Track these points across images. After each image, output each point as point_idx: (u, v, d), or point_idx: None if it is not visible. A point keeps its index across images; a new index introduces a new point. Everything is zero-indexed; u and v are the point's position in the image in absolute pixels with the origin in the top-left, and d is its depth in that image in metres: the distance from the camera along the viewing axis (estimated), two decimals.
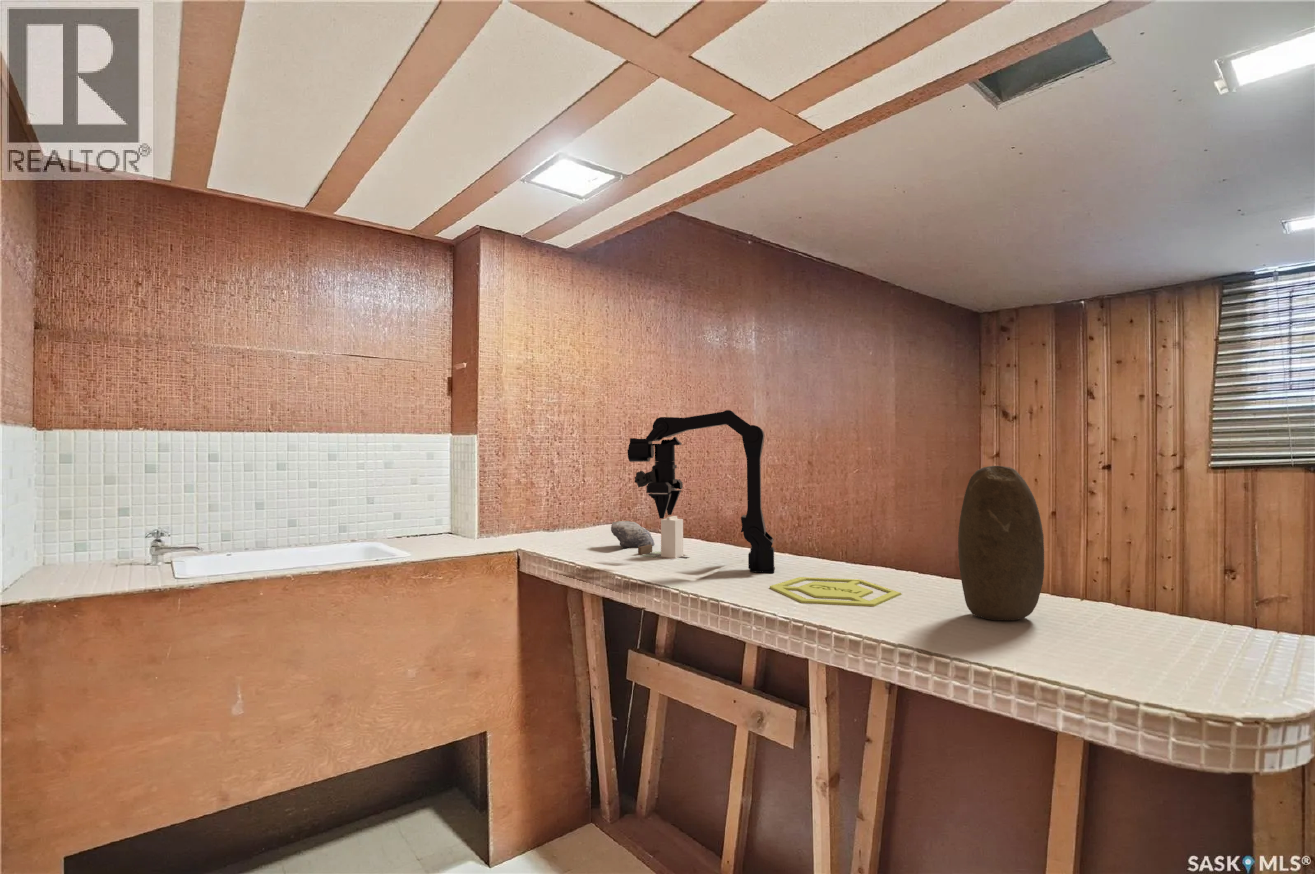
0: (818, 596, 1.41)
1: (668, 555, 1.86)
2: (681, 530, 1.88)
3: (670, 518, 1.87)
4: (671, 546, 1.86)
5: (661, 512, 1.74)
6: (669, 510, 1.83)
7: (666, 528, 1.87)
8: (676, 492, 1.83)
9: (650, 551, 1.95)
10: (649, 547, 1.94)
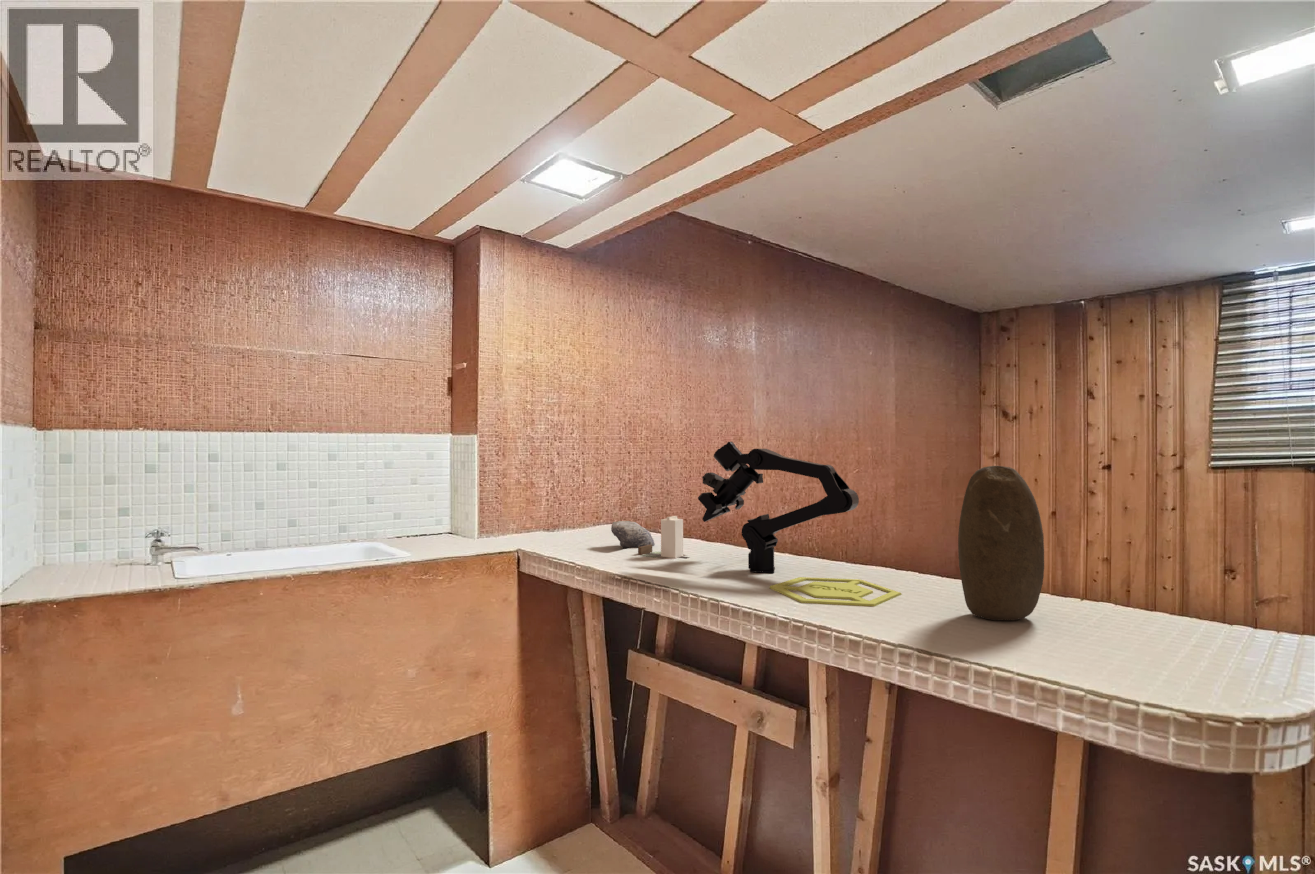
0: (818, 596, 1.41)
1: (668, 555, 1.86)
2: (681, 530, 1.88)
3: (670, 518, 1.87)
4: (671, 546, 1.86)
5: (706, 517, 1.81)
6: None
7: (666, 528, 1.87)
8: (723, 510, 1.80)
9: (650, 551, 1.95)
10: (649, 547, 1.94)
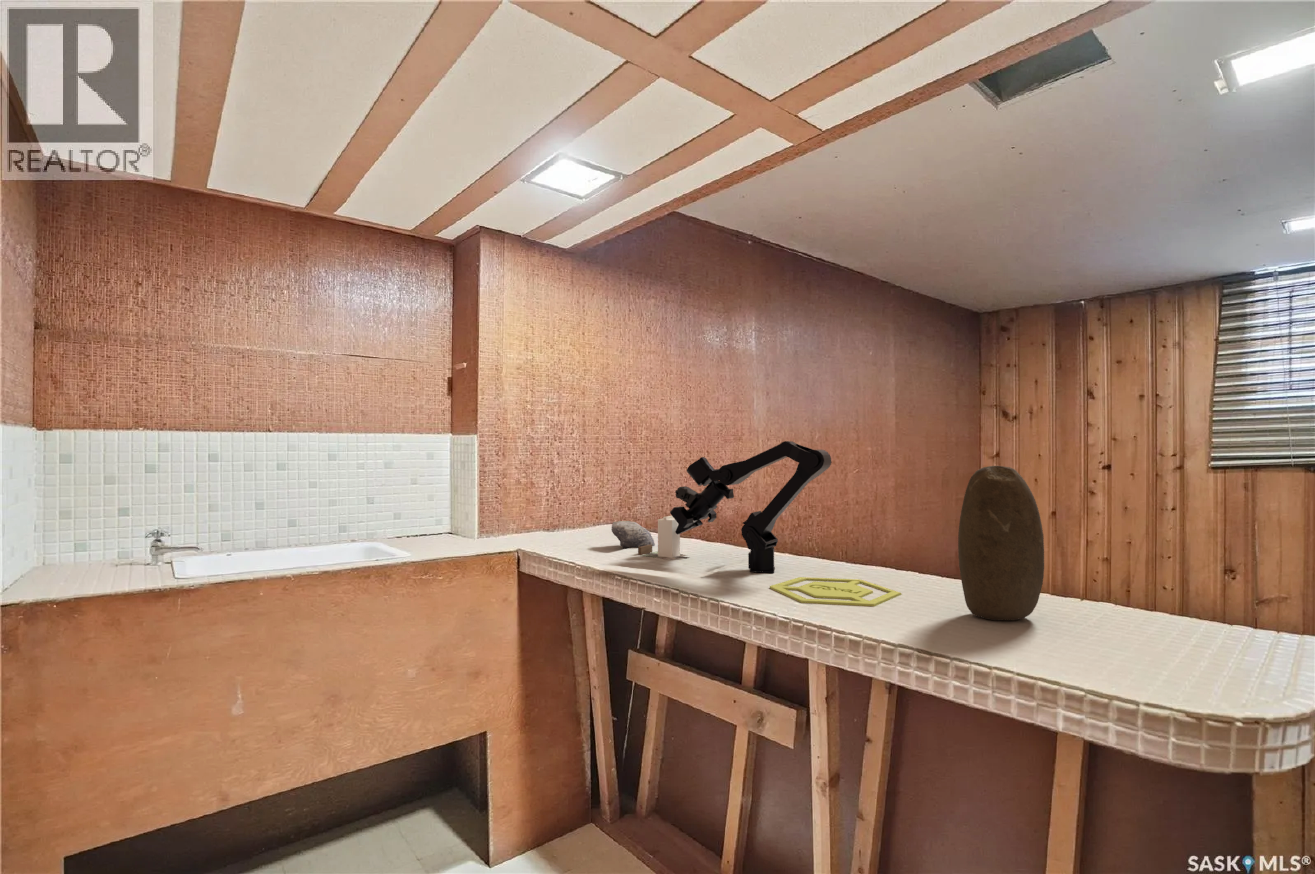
0: (818, 596, 1.41)
1: (665, 555, 1.87)
2: None
3: (667, 518, 1.87)
4: (668, 545, 1.86)
5: (679, 530, 1.86)
6: None
7: (663, 528, 1.87)
8: (695, 523, 1.85)
9: (650, 551, 1.95)
10: (649, 547, 1.94)
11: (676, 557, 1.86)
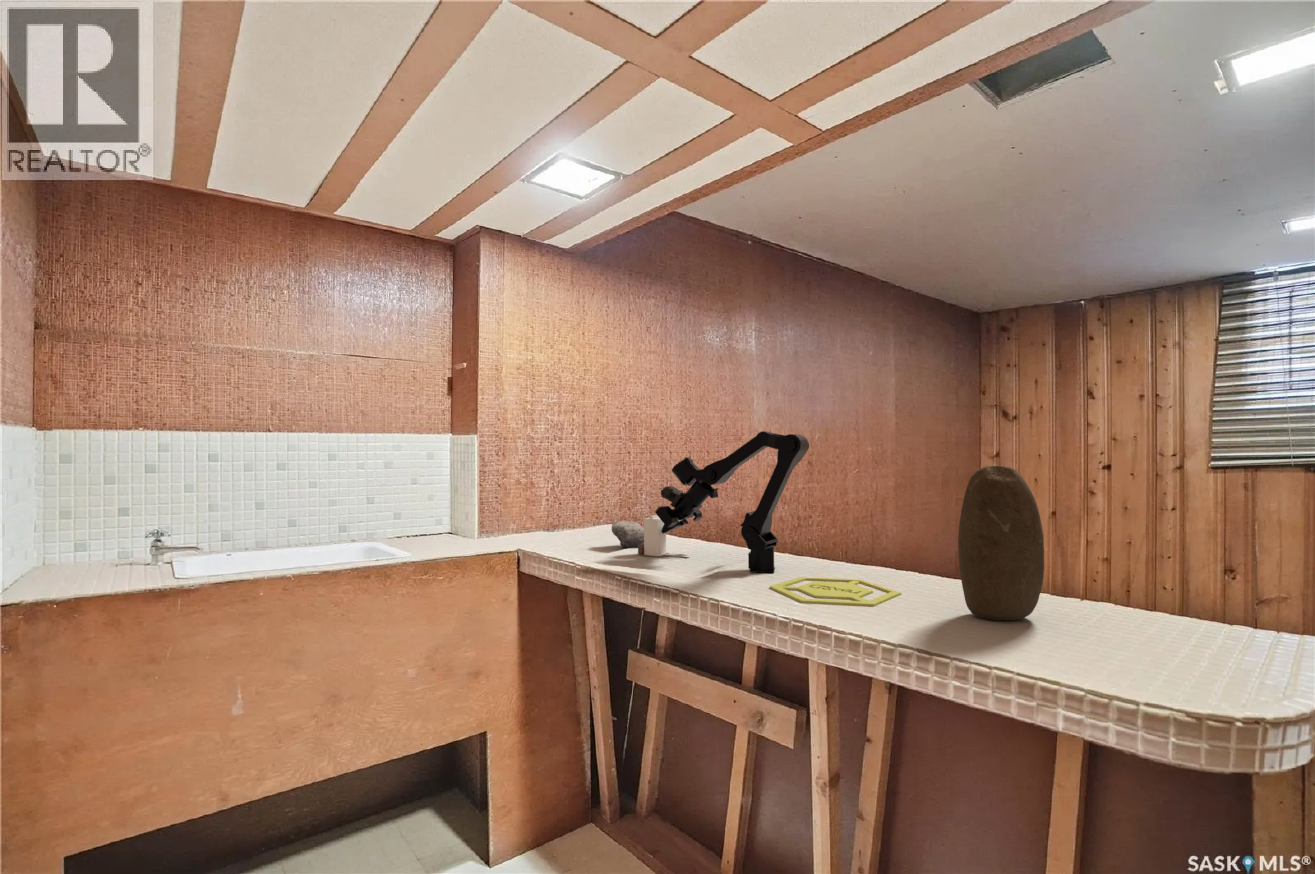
0: (818, 596, 1.41)
1: (651, 553, 1.90)
2: None
3: (653, 517, 1.90)
4: (654, 544, 1.89)
5: (664, 529, 1.89)
6: None
7: (649, 526, 1.90)
8: (681, 523, 1.87)
9: None
10: None
11: (676, 557, 1.86)
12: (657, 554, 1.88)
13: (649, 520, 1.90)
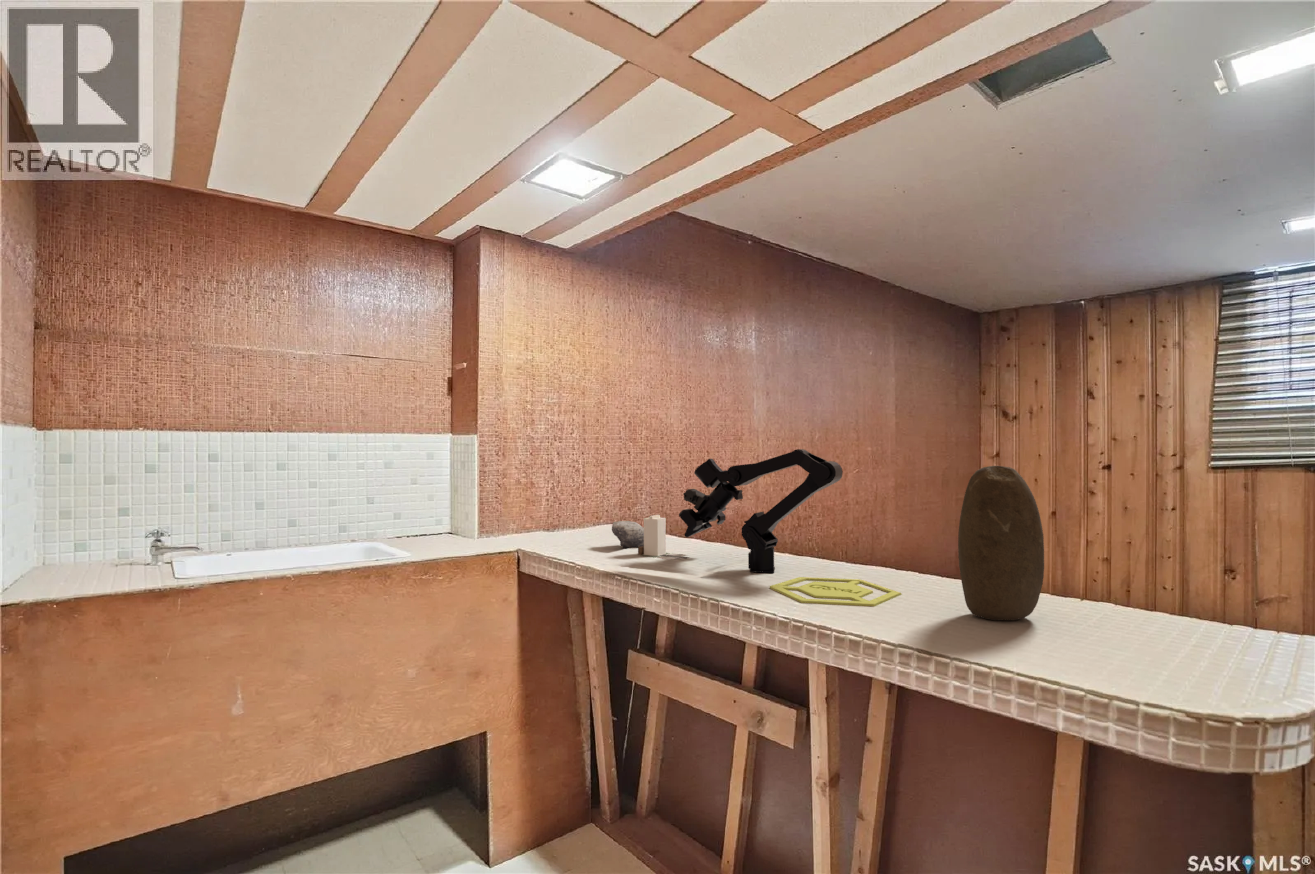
0: (818, 596, 1.41)
1: (651, 553, 1.90)
2: (664, 529, 1.91)
3: (653, 517, 1.90)
4: (654, 544, 1.89)
5: (688, 533, 1.84)
6: None
7: (649, 526, 1.90)
8: (704, 526, 1.83)
9: None
10: None
11: (676, 557, 1.86)
12: (657, 554, 1.89)
13: (649, 520, 1.90)
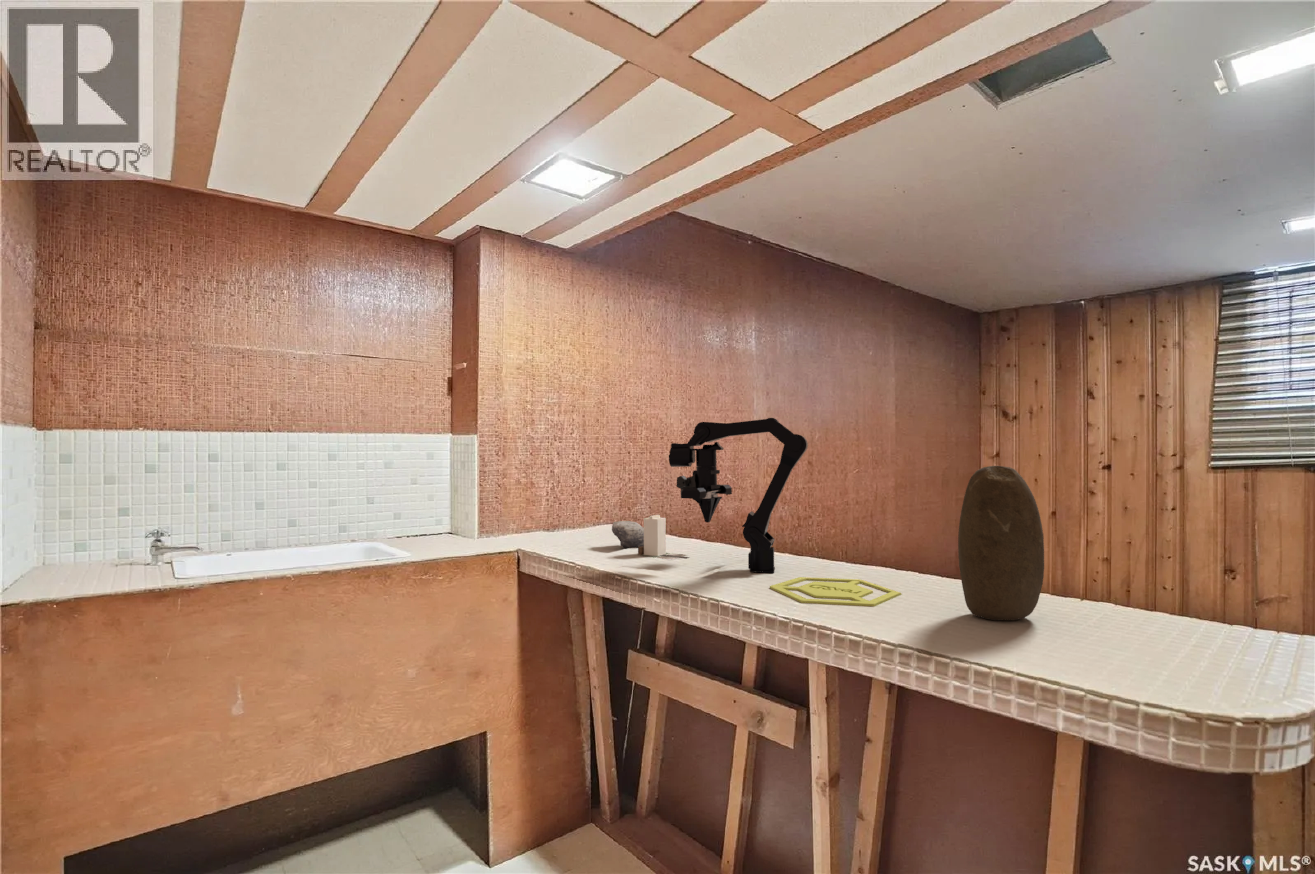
0: (818, 596, 1.41)
1: (651, 553, 1.90)
2: (664, 529, 1.91)
3: (653, 517, 1.90)
4: (654, 544, 1.89)
5: (706, 516, 1.76)
6: None
7: (649, 526, 1.90)
8: (714, 499, 1.76)
9: None
10: None
11: (676, 557, 1.86)
12: (657, 554, 1.89)
13: (649, 520, 1.90)
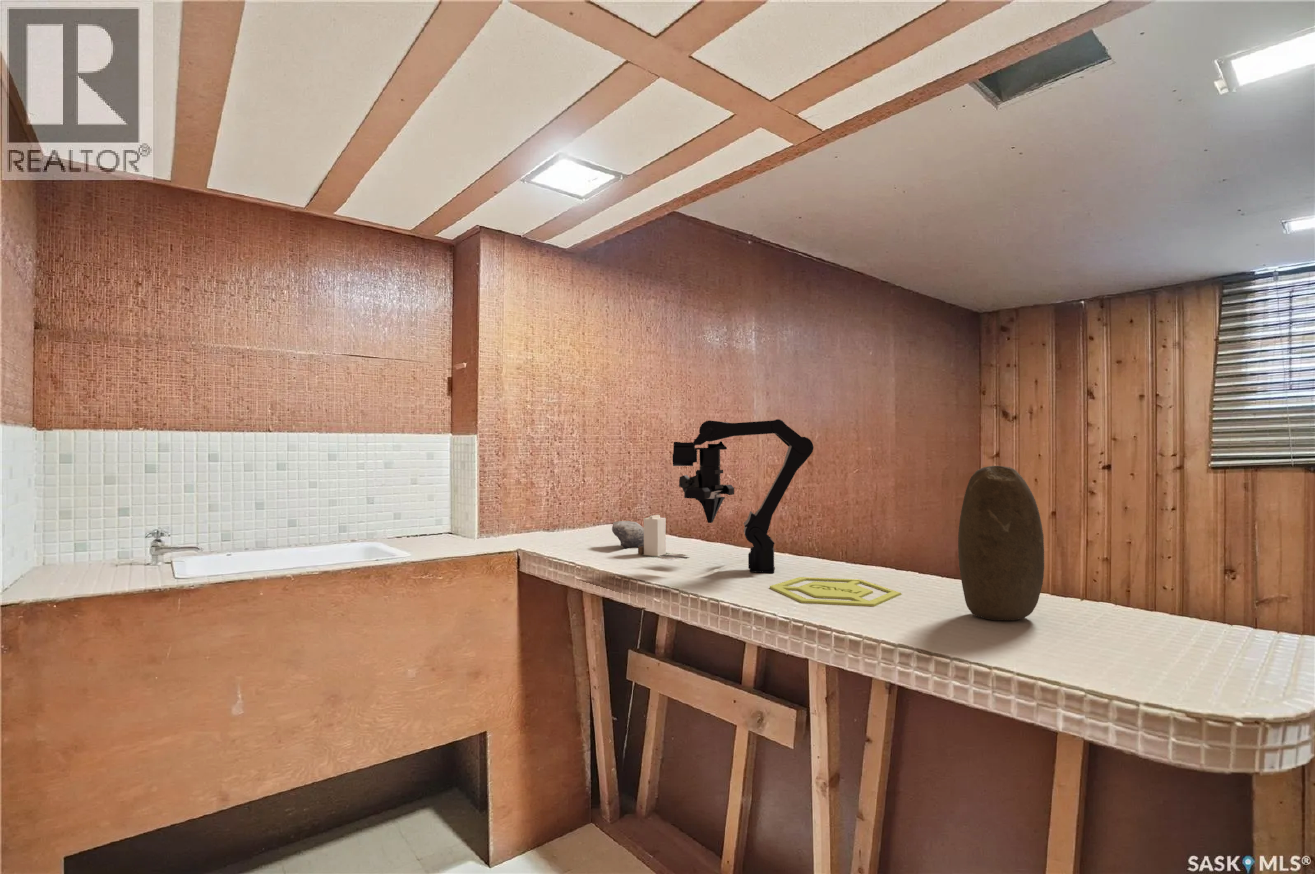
0: (818, 596, 1.41)
1: (651, 553, 1.90)
2: (664, 529, 1.91)
3: (653, 517, 1.90)
4: (654, 544, 1.89)
5: (709, 516, 1.73)
6: None
7: (649, 526, 1.90)
8: (717, 499, 1.73)
9: None
10: None
11: (676, 557, 1.86)
12: (657, 554, 1.89)
13: (649, 520, 1.90)
